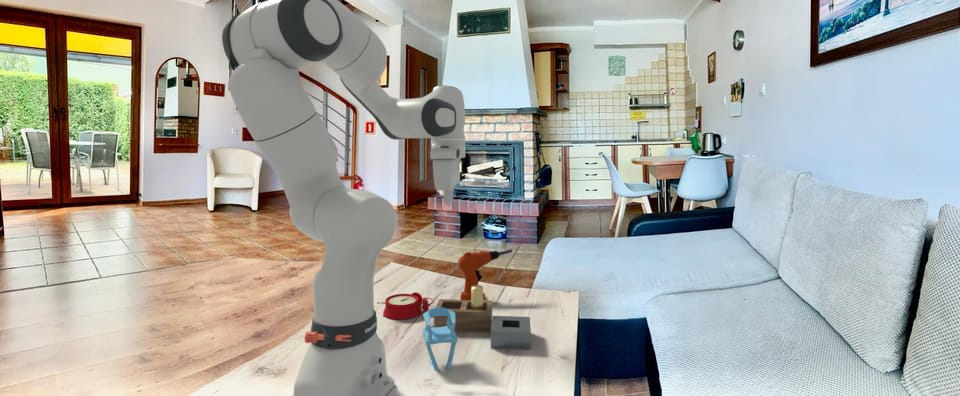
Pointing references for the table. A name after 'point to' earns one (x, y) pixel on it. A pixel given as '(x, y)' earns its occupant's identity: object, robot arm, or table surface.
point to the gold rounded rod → (476, 297)
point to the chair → (440, 333)
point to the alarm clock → (405, 306)
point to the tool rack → (466, 316)
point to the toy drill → (475, 268)
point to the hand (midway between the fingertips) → (448, 203)
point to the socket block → (511, 332)
